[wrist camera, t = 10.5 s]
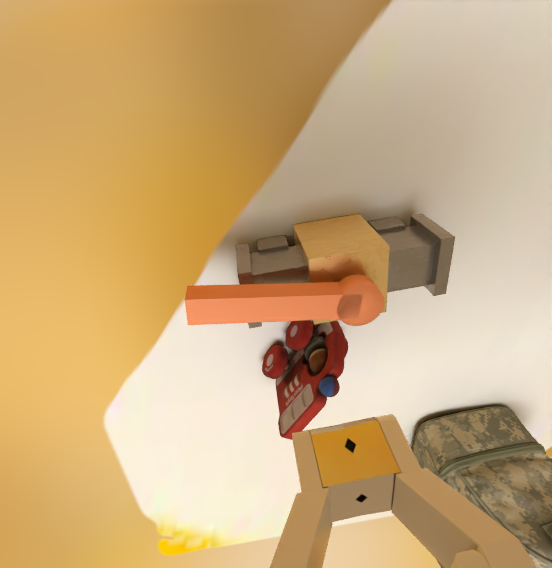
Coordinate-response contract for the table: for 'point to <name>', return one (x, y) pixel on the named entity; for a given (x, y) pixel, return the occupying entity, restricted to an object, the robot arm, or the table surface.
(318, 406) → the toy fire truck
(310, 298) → the lever
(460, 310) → the table surface
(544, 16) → the table surface
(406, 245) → the pipe valve
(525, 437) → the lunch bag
